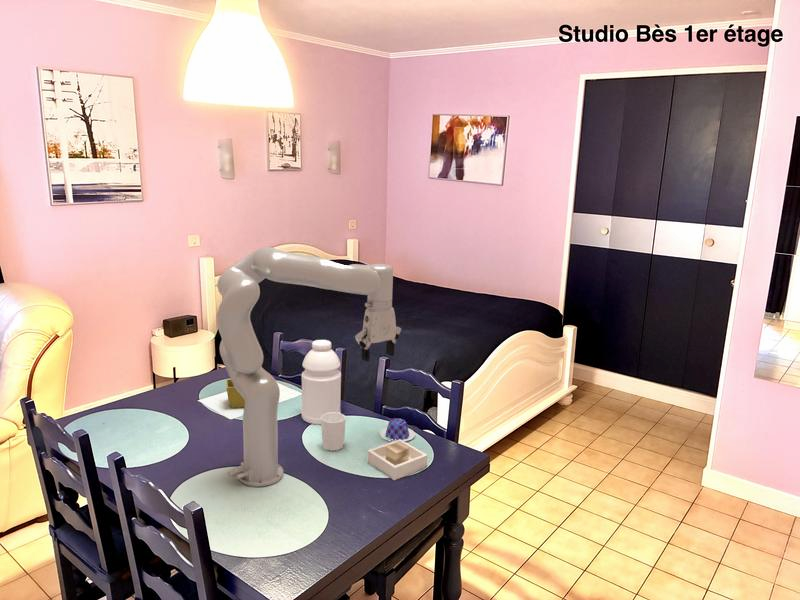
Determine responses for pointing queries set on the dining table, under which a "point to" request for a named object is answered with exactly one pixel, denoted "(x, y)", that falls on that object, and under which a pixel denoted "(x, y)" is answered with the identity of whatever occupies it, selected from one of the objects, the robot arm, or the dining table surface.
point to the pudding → (398, 430)
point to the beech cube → (397, 453)
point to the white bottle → (320, 382)
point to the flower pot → (234, 395)
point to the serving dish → (398, 471)
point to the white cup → (333, 430)
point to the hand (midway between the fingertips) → (377, 357)
